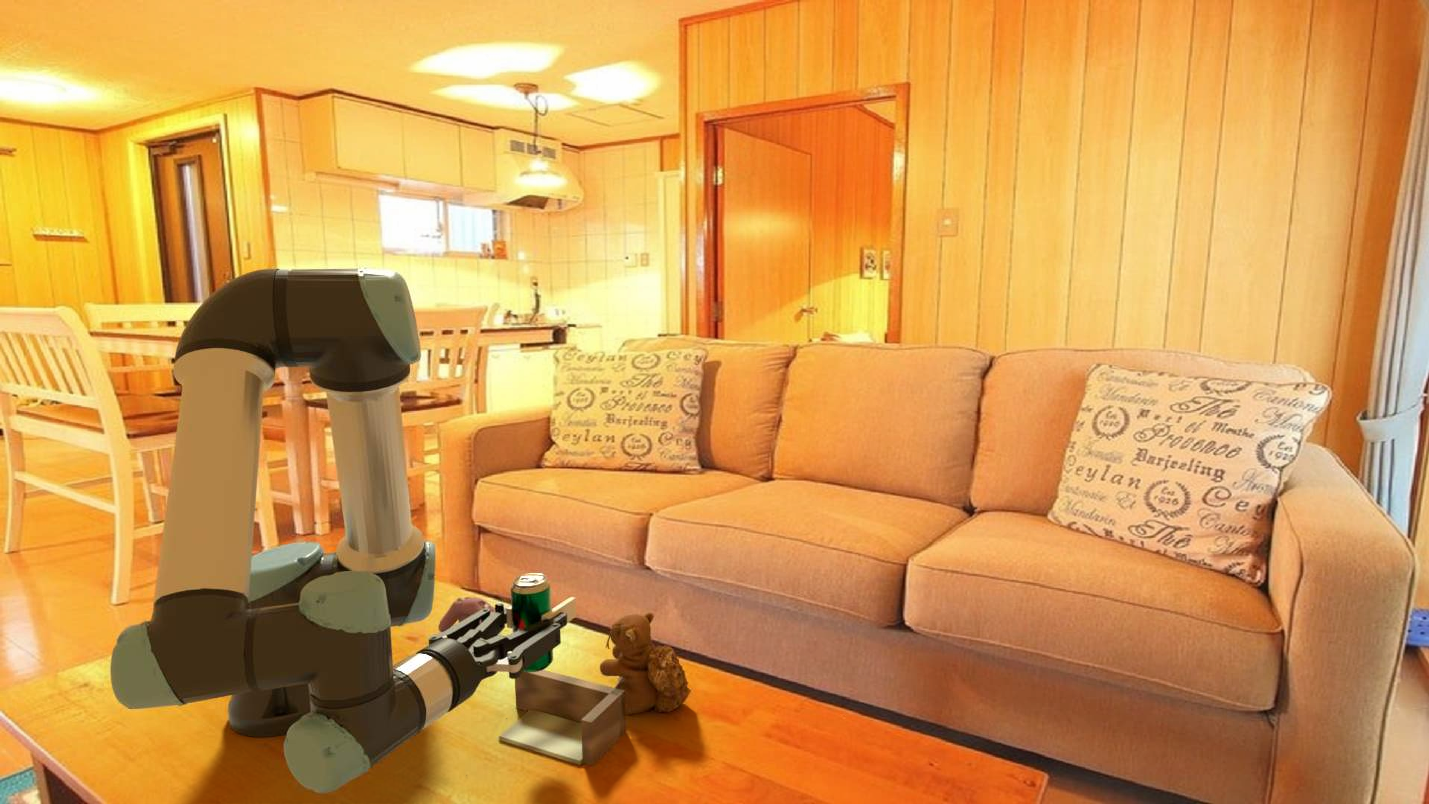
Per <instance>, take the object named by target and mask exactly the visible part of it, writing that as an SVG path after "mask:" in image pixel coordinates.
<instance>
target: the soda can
mask: <svg viewBox="0 0 1429 804" xmlns="http://www.w3.org/2000/svg"><path fill="white" fill-rule="evenodd" d="M512 582H513V584H512V585H511V587H510V605H511V608H512V628H511V629H512V633H514V632H516V631H518V630H521V629H523V628H525V627H528V626H530V625H532V624H535V623H537V622H539V621H542V615H544V614H545V613H547V612H548V611H550V610H552V600H551V583H550V582H549V581H548V577H547V575H545V574H543V573H537V572H535V573H534V572H532V573H531V572H530V573H526V574H525V573H524V574H521V575H518V576H516V577H515V578H514V579H513V581H512ZM553 661H554V649H552V650H551V651H549V652H548V653H547V654H545V655H544V656H542V657H541V658H540V659H538V660H537V661H535V662H534V663H532V664H531V665H530V666H528V667H527V668H525V669H524V670H523V671H524V672H537V671H541V670H546V669H547V668H549V666H550V665H551V664H552V662H553Z"/></svg>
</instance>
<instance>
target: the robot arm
mask: <svg viewBox="0 0 1429 804" xmlns="http://www.w3.org/2000/svg"><path fill="white" fill-rule="evenodd" d="M416 318H417V317H416V315H415V309H414V306H413V300H412V297H411V293H410V290H409V287H408V284H407V281H406V280H405V278H404V277H403V276H402V275H401V274H400V273H398V272H396V271H395V270H384V269H368V268H366V267H360V268H305V269H304V268H302V269H301V268H300V269H299V268H297V269H296V268H294V269H293V268H291V269H281V268H263V269H262V268H261V269H257V270H254V271H250V272H246V273H244V274H242V275H239V276H237V277H236V278H232V279H231V280H229V281H227V282H226V283H225V284H223V285H221V286H220V287H219V288H217V290H215V291H213V292H212V294H211V295H209V296H208V298H206V299H205V300H204V301H202V303H201V305H199V307H198V308H197V309H196V310H195V312H194V313H193V314H192V315H191V317H190V319H189V320H188V322H187V324H186V326H185V328H184V329H183V330H182V333H181V335H180V338H179V340H178V343H177V346H176V348H175V349H176V350H175V354H174V361H173V373H172V374H173V377H174V378H175V380H176V381H177V382H178V383H179V384H180V385H181V386H182V390H181V396H180V404H179V411H178V419H177V427H176V432H175V440H174V449H173V456H172V464H171V470H170V478H169V486H168V491H167V492H168V493H167V501H166V507H165V515H164V522H163V529H162V537H161V544H160V545H161V546H160V550H159V551H160V552H159V558H158V559H159V560H158V568H157V574H156V580H155V589H154V597H153V605H152V606H153V609H152V613H151V614H152V615H151V618H150V620H144V621H143V622H141V623H137V624H132V625H129V626H128V627H125V628H124V629H123V630H122V631H121V632H120V633H119V635H118V637H117V639H116V645H115V646H114V647H113V649H112V653H111V660H110V683H111V688H112V691H113V692H112V693H113V694H114V695H113V696H114V697H115V698H116V700H117V702H118V703H120V704H121V705H122V706H123V707H125V708H127V709H129V710H145V709H152V708H162V707H163V708H164V707H171V706H179V707H181V706H184V705H187V704H190V703H191V704H192V703H197V702H198V703H199V702H202V701H208V700H213V699H218V698H224V697H229V696H231V697H230V700H229V702H228V704H227V714H228V723H229V726H230V728H231V729H232V730H233V731H235V733H238V734H241V735H243V736H248V737H256V738H257V737H261V738H262V737H263V738H264V737H274V736H280V735H285V734H286V738H285V740H284V742H283V752H284V753H283V754H284V758H285V762H286V764H287V767H288V769H289V771H290V773H291V774H292V775H293V778H295V780H296V781H297V782H298V783H299V784H300V785H301V786H302V787H303V788H305V789H306V790H309V791H310V790H311V791H313V792H314V793H317V794H328V793H329V794H330V793H332V792H334V791H336V790H338V789H340V788H341V787H343V786H345V785H346V784H348V783H349V782H351V781H353V780H354V779H356V778H357V777H359V776H363V775H365V774H367V772H369V770H370V769H372V768H373V767H374V766H375V765H377V764H378V763H379V762H381V761H382V760H383V759H385V757H387V756H388V755H390V754H391V753H392V752H394V751H395V750H396V749H398V748H399V747H400V746H402V745H403V744H404V743H406V742H407V741H409V740H411V739H413V738H414V737H415V736H417V735H418V734H420V732H422V731H424V729H426V728H428V727H429V726H430V725H432V724H434V723H435V722H436V721H438V720H439V719H441V718H442V717H443V716H445V715H446V714H448V713H449V712H452V711H453V710H454V709H456V708H457V707H458V706H460V705H461V704H463V703H464V702H466V701H467V700H469V699H470V698H471V697H472V696H473V695H474V693H476V690H477V689H478V687H479V685H480V684H481V682H483V680H485V679H487V678H490V677H493V676H495V675H496V674H497V672H506V673H508V678H509V679H510V680H511V679H512V680H515V679H516V678H518V677H519V676H520V675H521V673H522V672H523V670H524V669H525V668H527V667H528V666H530V665H531V664H532V663H534V662H535V661H537V660H538V659H540V658H541V657H542V656H544V655H545V654H547V653H548V652H549V651H551V650H552V649H553V650H554V649H556V648H557V647H558V646H560V645H561V643H562V641H561V639H562V637H561V636H562V635H561V629H563V628H565V627H566V626H567V625H568V623H569V622H571V621H573V620H574V619H575V618H576V617H577V605H576V604H577V601H576V600H577V598H576V597H573V596H570V597H569V598H567V599H566V600H564V601H562V602H561V603H560V604H558V605H556V606H554V607H553V608H551V610H550V611H548V612H547V613H545V614H544V615H542V621H539V622H537V623H535V624H532V625H530V626H528V627H525V628H523V629H521V630H518V631H516V632H514V633H513V632H511V633H510V634H507V635H502V634H501V633H502V632H503V630H504V629H505V628H507V629H508V628H509V629H513V628H512V608H511V604H510V605H508V606H506V607H505V605H504V603H502V602H501V603H495V604H494V608H495V611H494V612H490V609H488V608H485V609H482V610H480V611H478V612H477V613H475V614H473V615H472V616H470V617H468V618H466V619H465V620H463V621H461V622H459V621H458V623H455V625H453V626H452V627H451V628H449V629H447V630H446V631H444V632H438V633H436V634H433V635H430V636H429V637H428V645H426V646H425V647H424V648H421V649H419V650H418V651H417V652H415V653H413V654H411V655H408V656H407V657H405V658H403V659H402V660H400V661H398V662H397V663H396V664H393V663H394V662H393V646H392V631H391V627H392V628H393V627H403V626H405V625H407V624H412V623H417V622H422V621H423V620H425V619H427V618H428V617H429V616H430V615H431V614H432V613H431V612H432V610H433V603H434V599H435V598H434V597H435V596H434V595H435V580H436V579H435V578H436V577H435V575H436V561H437V560H436V544H435V543H434V542H433V541H427V540H425V537H424V534H423V533H422V531H421V530H420V529H419V528H418V527H416V526H415V525H413V524H412V515H411V514H412V513H411V504H410V495H409V494H410V492H409V482H408V481H409V479H408V471H407V461H406V458H407V457H406V450H405V448H406V447H405V437H404V428H403V427H404V425H403V417H402V415H403V414H402V405H401V393H400V386H401V385H402V384H403V383H404V382H406V381H407V379H408V378H409V376H410V375H411V365H414V364H415V363H418V362H420V361H421V358H422V351H421V350H422V349H421V343H420V338H419V331H418V325H417V319H416ZM283 367H285V368H301V367H303V368H304V367H305V368H307V367H308V371H309V378H310V382H311V384H312V385H314V387H316V388H318V389H320V390H321V391H323V392H325V393H326V394H325V395H326V403H327V409H328V417H329V422H330V423H329V425H330V430H331V437H332V444H333V446H332V447H333V451H334V460H335V467H336V473H337V482H338V488H339V494H340V495H339V496H340V503H341V509H342V517H343V524H344V531H345V535H344V536H343V537H342V538H341V539H340V541H339V543H338V544H337V547H336V551H334V552H329V553H328V552H327V553H325V551H324V548H323V547H322V545H321V544H320V543H318V542H315V541H310V542H308V541H299V542H298V541H297V542H292V543H287V544H282V545H278V546H276V547H272V548H269V549H266V550H263V551H261V552H259V553H255V554H253V546H254V545H253V544H254V542H253V541H254V530H255V517H256V502H257V488H258V476H259V473H258V472H259V461H260V449H261V434H262V419H263V410H264V409H263V407H264V396H265V395H264V393H265V392H267V391H268V390H270V389H271V387H272V386H273V385H274V384H275V380H276V370H277V369H279V368H283ZM480 620H481V624H480Z"/></svg>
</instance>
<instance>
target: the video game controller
mask: <svg viewBox="0 0 1429 804" xmlns="http://www.w3.org/2000/svg"><path fill="white" fill-rule="evenodd" d="M485 608H488V609H490V612H494V611H495V606H492V605H491V604H490V603H489V602H488V601H487V600H484V599H483V598H480V597H476V596H475V597H474V596H469V597H467V596H466V597H465V596H464V597H458V598H457V599H456V600H455V601H453V602H452V604H451V605H450V606H449V608H448V610H446V613H445V614H444V615H443V616H442V618H441V620H440V621H439V624H438V631H439V633H441V632H444V631H446V630H447V629H449V628H451V627H453V626H454V624H455V625H456V624H457V622H458V623H459V622H461V621H463V620H465V619H466V618H468V617H470V616H472V615H473V614H475V613H477V612H478V611H480V610H482V609H485ZM480 624H481V620H480Z"/></svg>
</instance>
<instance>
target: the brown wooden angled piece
mask: <svg viewBox="0 0 1429 804" xmlns="http://www.w3.org/2000/svg"><path fill="white" fill-rule="evenodd" d="M514 689H515V690H514V692H515V708H517V707H518V709H520V708H522V709H521V710H524V709H525V710H524V711H527V710H528V712H526V713H525V714H524V715H523V716H521V718H519V719H518V720H516V721H515V722H514V723H513V724H511V726H509V727H508V728H507V729H506V730H504V731H503V732H502V733H501V734H500V735H498V740H499V741H501V740H502V741H501V742H505V743H507V744H510V743H511V744H510V745H514V746H517V747H520V746H521V747H520V748H523V749H526V748H528V749H527V750H530V751H533V752H536V751H538V752H537V753H539V752H540V754H543V755H545V756H549V757H552V758H556V759H559V760H561V761H562V760H563V761H565V762H568V763H571V764H576V765H578V766H581V765H582V764H586V765H589V766H591V767H593V766H594V765H595V764H596V763H597V762H598V761H599V760H600V759H601V758H602V756H603V755H605V753H607V751H608V750H610V748H612V746H613V745H614V744H615V743H616V742H617V741H618V740H619V739H620V738H621V737H622V736H623V735H624V734H625V733H626V732H627V729H626V726H627V725H626V722H627V721H626V719H627V718H626V715H625V691H624V690H621V689H617V688H615V687H612V686H608V685H605V684H600V683H596V682H592V681H589V680H585V679H582V678H576V677H574V676H570V675H566V674H561V673H558V672H555V671H549V670H546V669H543V670H541V671H537V672H524V671H523V672H522V673H521V675H520V676H519V677H518V678H516V679H514Z"/></svg>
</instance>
